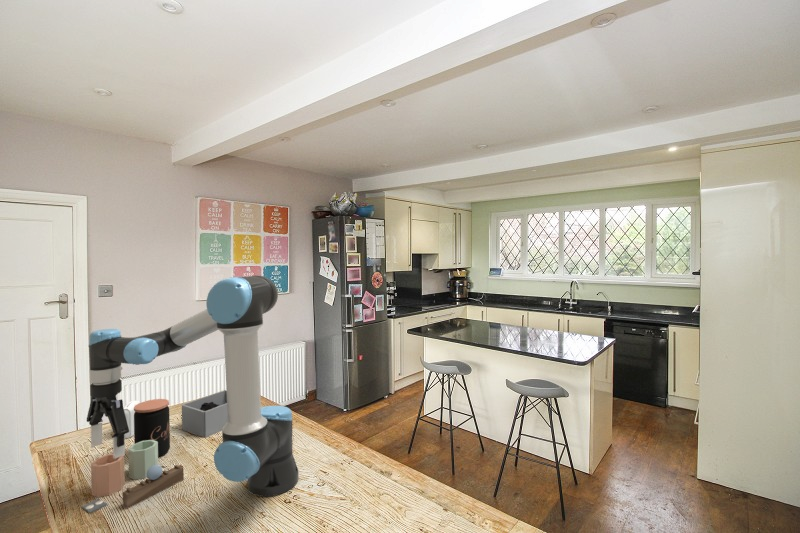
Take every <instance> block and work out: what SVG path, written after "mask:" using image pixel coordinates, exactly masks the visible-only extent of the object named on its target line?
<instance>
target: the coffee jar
mask: <svg viewBox="0 0 800 533" xmlns="http://www.w3.org/2000/svg"><path fill="white" fill-rule="evenodd" d="M169 405H170V400H168V399H165V398H155V399H148V400H144V401H142V402H140V403H139V404H137V405H135V406H134V411H135V413H134V435H133V436H134V439H133V440H134V442H133V444H136V443H138V442H141V441H146V440H155V441H157V442H158V459H161V457H163V456H165V455H167V454H168V452H169V451H170V449H171V433H170V432H171V430H170V429H171V427H170V407H169Z"/></svg>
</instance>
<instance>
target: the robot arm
mask: <svg viewBox="0 0 800 533" xmlns="http://www.w3.org/2000/svg"><path fill="white" fill-rule="evenodd" d="M278 298H279V292H278V288H277V286H276V284H275V283H274V282H273V280H271V279H270V278H268V277H266V276H264V275H249V276H233V277H229V278H225V279H221V280H219V281H217V282H216V283H215V284H214V285H213V287H211V288H210V290H209V292H208V293H207V296H206V300H205V301H206V309H204V310H202V311H200V312H198V313H196V314H194V315H192V316H190V317H188V318H186V319H184V320H182V321H180V322H178V323H176V324H173V325H172V326H169V327H167V328H165V329H164V330H161V331H156V332H151V333H148V334H144V335H139V336H134V337H127V336H126V337H123V336H122V334H121V330H120V329H117V328H105V329H97V330H94V331H92V332H90V334H89V338H88V339H89V344H88V348H89V349H88V350H89V353H88V354H89V356H88V357H89V383H90V385H89V390H90V391H89V392H90V394H89V395H90V402H89V408H88V411H87V416H86V422H87V423H89V426H90V447H91V448H95V447H98V446H100V445H103V421H104V420H103V417H104V416H105V417H107V418H108V421H109V423H110V426H111V429H112V432H113V434H112V436H111V438H112V454H113V458H114V459H115V458H118V457H120V456H123V455H124V456H125V455H126V449H125V448H126V447H125V446H126V445H125V444H126V441H125V439H126V438H125V434H126V433H128V432H129V428H128V424H127V420H126V416H125V412H124V409H123V407H124V401H123V399H117V395H118V394H120V393H122V390H123V387H122V383H123V382H122V370H123V366H122V364H125V365H126V364H127V365H128V364H129V365H135V366H137V365H148V364H150V363H152V362H153V360H155V359H156V358H157V357H160V356H163V355H167V354H170V353H174V352H177V351H180V350H181V349H184V348H186V346H187V345H189V344H191V343H193V342H195V341H198V340H199V339H202V338H204V337H206V336H208V335H211V334H212V333H215V332H216V331H219V332H221V333H222V335H223V343H224V344H223V345H224V346H223V348H224V350H223V351H224V364H225V365H224V366H225V367H224V368H225V386H226V388H225V390H226V391H227V411H228V422H227V423H226V424H225V425H224V426H223V428H222V432H221V434H222V436H221V437H222V442H221V443H219V444H218V446H217V447H216V449H215V451H214V454H213V463H214V465H215V469H216V470H217V471H218V473H219V474H220V475H222V476H223V478H224V479H226V480H228V481H231V482H235V483H240V482H244V481H245V482H247V490H248V492H249V493H250V494H252V495H254V496H258V497H271V496H272V497H273V496H279V495H280V494H284V493H286V492H288V491H290V490H291V489H292V488H294V487H295V486H296V485H297V483H298V482H299V477H300V475H299V468H298V465H297V462H296V460H295V457H294V454H293V421H294V420H293V411H292V410H291V409H290V408H289V407H287V406H283V405H267V406H262V402H261V400H262V399H261V398H262V397H261V381H260V380H261V378H260V377H261V376H260V360H259V356H260V355H259V340H258V339H259V338H258V337H259V336H258V335H259V334H258V331H259V329H260V328H261V327H262V326H263V325H264V320H263V319H264V317H263V316H264V315H263V314H266V313H268V312H270V311H271V310H272V309H273V308H274V307H275V305H276V304H277V301H278Z"/></svg>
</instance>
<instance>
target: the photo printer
mask: <svg viewBox="0 0 800 533" xmlns="http://www.w3.org/2000/svg"><path fill="white" fill-rule="evenodd" d="M139 403H141V402H140V401H139V400H131V401H129V402H127V403H126V404H125V405H123V409H124V412H125V416H126V420H127V424H128V428H129V432H128V433H126V434H125V439H130V438H131V437H132V436H134V413H135V411H134V406H135V405H137V404H139Z"/></svg>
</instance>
